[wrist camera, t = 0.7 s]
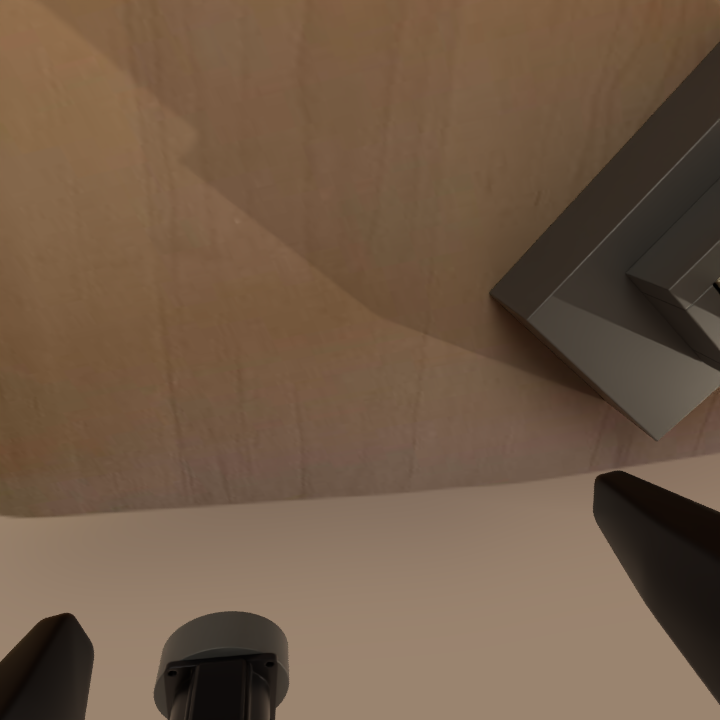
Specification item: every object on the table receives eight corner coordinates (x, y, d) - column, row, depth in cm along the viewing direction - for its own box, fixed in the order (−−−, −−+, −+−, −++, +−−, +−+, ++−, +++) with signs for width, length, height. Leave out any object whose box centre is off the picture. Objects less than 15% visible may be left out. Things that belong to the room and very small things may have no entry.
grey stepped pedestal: (608, 403, 26) (696, 473, 20) (487, 292, 22) (557, 343, 17) (833, 191, 23) (1006, 209, 17) (739, 19, 19) (925, -27, 13)
